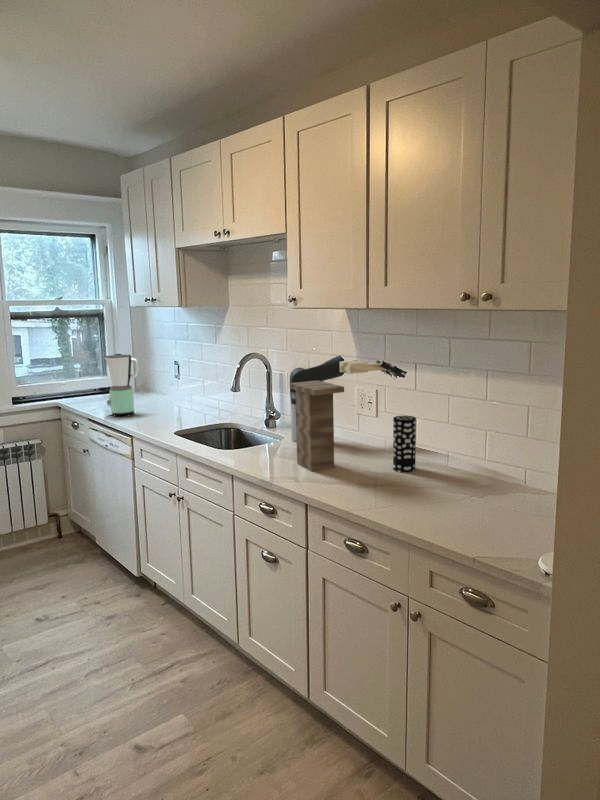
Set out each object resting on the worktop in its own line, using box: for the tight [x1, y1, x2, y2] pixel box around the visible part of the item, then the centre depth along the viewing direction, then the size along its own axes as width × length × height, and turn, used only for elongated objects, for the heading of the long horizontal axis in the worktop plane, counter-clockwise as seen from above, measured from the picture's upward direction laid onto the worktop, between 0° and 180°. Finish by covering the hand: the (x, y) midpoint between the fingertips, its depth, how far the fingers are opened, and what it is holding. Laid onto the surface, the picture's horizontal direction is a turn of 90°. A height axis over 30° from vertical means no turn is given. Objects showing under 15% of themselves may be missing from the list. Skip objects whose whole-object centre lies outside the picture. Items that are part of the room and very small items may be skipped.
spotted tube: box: [392, 415, 417, 473], centre depth 226 cm, size 8×8×20 cm
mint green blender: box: [103, 353, 139, 416], centre depth 343 cm, size 19×13×35 cm
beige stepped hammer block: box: [340, 360, 391, 375], centre depth 239 cm, size 8×21×4 cm, turn 117°
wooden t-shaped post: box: [289, 380, 345, 472], centre depth 233 cm, size 20×13×32 cm, turn 27°
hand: (378, 363), depth 241 cm, fingers closed on beige stepped hammer block, 3 cm apart
